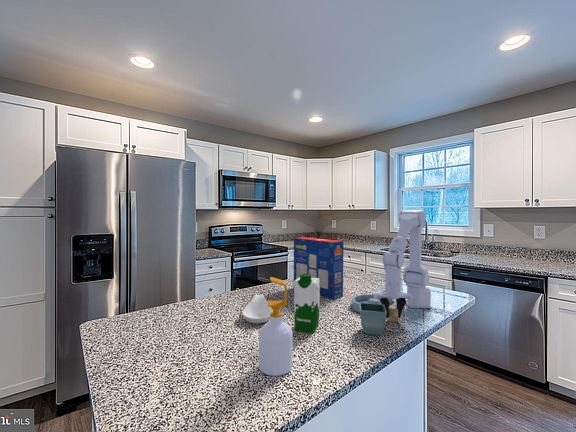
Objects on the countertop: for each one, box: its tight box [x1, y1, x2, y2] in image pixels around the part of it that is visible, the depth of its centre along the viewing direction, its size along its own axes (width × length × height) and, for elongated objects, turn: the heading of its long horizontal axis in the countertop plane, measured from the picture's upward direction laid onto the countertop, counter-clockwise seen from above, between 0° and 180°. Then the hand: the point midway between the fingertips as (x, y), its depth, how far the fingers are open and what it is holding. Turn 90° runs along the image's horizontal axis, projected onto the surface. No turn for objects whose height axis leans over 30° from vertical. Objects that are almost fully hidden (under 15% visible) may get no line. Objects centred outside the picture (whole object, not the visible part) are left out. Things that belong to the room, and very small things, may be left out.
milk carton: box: [293, 274, 320, 334], centre depth 107 cm, size 9×9×20 cm
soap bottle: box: [258, 276, 294, 377], centre depth 80 cm, size 9×9×25 cm
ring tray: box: [350, 293, 397, 314], centre depth 130 cm, size 20×20×4 cm
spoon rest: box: [241, 293, 273, 325], centre depth 120 cm, size 24×12×7 cm, turn 4°
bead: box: [386, 306, 399, 324], centre depth 115 cm, size 4×4×5 cm
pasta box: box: [293, 236, 344, 300], centre depth 155 cm, size 28×8×28 cm, turn 42°
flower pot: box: [359, 303, 387, 336], centre depth 104 cm, size 9×9×9 cm
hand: (392, 317), depth 115 cm, fingers closed on bead, 4 cm apart
